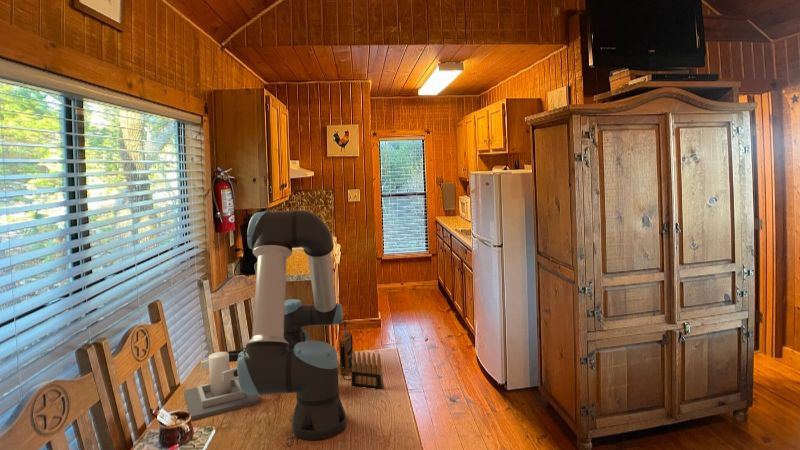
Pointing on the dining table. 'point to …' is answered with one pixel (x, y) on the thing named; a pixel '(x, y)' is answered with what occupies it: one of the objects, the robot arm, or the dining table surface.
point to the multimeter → (345, 351)
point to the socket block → (216, 400)
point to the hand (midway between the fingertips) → (211, 371)
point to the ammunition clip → (367, 371)
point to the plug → (219, 373)
